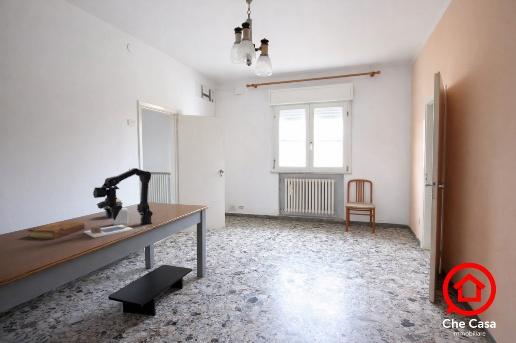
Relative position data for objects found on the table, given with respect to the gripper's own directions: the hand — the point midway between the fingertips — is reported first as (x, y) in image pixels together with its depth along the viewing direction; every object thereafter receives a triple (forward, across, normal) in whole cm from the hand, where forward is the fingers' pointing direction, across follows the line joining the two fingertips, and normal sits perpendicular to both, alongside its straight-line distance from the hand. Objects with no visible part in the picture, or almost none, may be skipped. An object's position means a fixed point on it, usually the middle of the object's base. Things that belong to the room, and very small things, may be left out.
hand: (112, 219), depth 180 cm
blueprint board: (+8, 0, -2) cm, 8 cm away
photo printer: (+8, -16, +12) cm, 22 cm away
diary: (+9, -20, -26) cm, 34 cm away
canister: (+8, -44, +18) cm, 49 cm away
